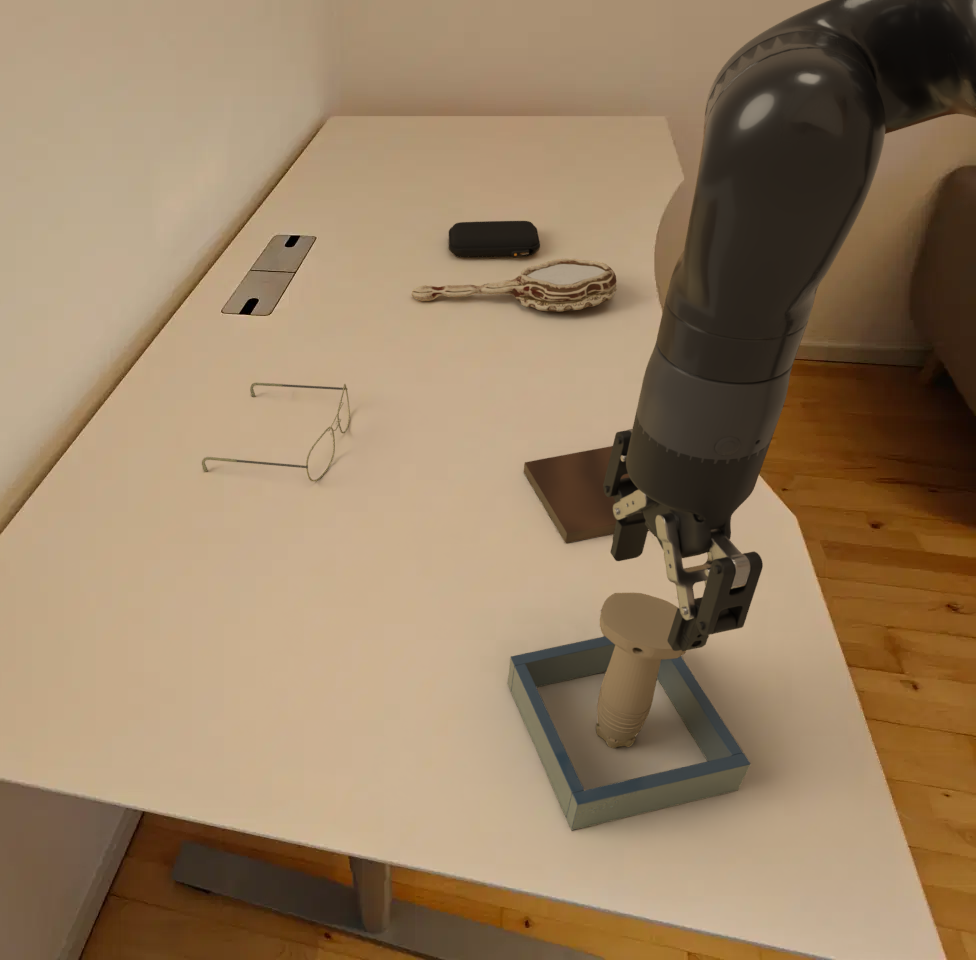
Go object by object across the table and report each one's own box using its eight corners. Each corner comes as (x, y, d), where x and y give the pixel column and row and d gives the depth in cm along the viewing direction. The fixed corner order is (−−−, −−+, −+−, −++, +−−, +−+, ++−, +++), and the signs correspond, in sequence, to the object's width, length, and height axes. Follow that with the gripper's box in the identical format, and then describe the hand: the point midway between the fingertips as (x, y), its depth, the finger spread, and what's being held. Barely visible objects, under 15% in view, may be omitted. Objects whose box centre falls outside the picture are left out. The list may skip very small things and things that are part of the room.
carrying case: (448, 264, 136) (541, 263, 135) (449, 247, 134) (542, 245, 133) (448, 236, 144) (535, 234, 143) (448, 219, 142) (536, 217, 141)
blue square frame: (652, 651, 77) (660, 624, 74) (738, 790, 66) (751, 764, 64) (507, 683, 75) (510, 656, 73) (571, 830, 65) (577, 805, 62)
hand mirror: (414, 265, 132) (614, 251, 125) (417, 302, 134) (612, 289, 128) (406, 284, 122) (621, 269, 116) (409, 323, 125) (619, 311, 118)
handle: (584, 698, 74) (610, 583, 64) (660, 725, 71) (699, 610, 61) (569, 742, 70) (594, 629, 61) (648, 772, 68) (687, 659, 58)
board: (636, 450, 98) (638, 440, 97) (689, 518, 89) (692, 508, 88) (523, 472, 97) (524, 462, 96) (565, 543, 88) (567, 533, 87)
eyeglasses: (320, 490, 97) (317, 456, 93) (202, 471, 101) (195, 439, 97) (358, 409, 108) (356, 377, 105) (251, 396, 112) (246, 364, 109)
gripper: (843, 480, 44) (759, 667, 55) (700, 342, 55) (653, 521, 65) (710, 506, 43) (651, 691, 54) (591, 360, 54) (562, 539, 64)
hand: (652, 597), depth 59 cm, fingers open, 8 cm apart
